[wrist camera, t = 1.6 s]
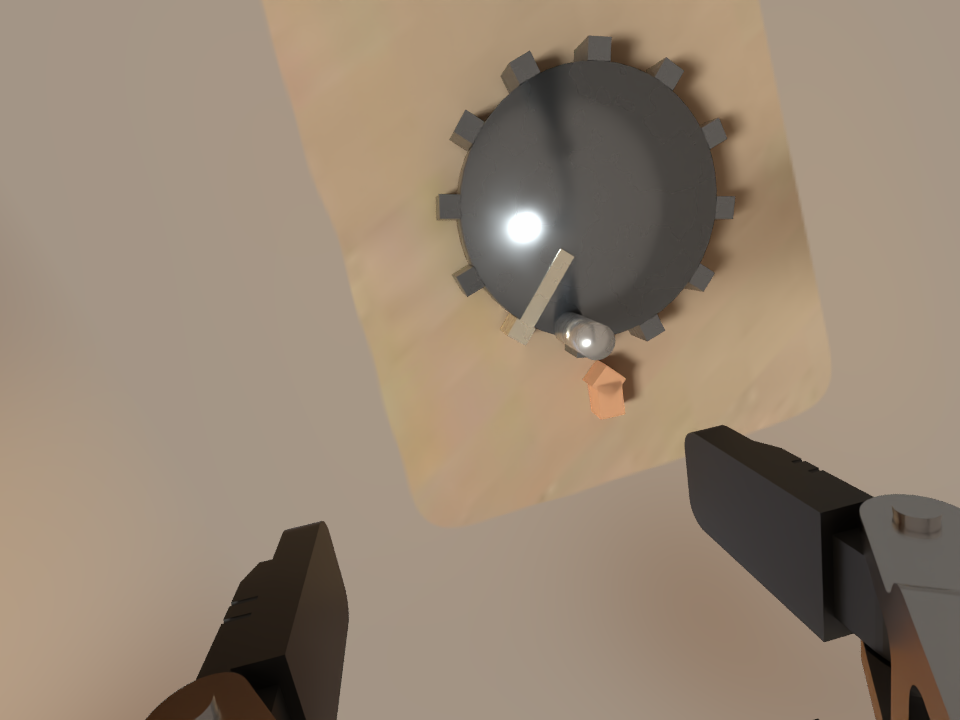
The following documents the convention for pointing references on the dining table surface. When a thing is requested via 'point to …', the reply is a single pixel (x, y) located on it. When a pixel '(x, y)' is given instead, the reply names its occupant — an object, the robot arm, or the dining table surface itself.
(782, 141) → the dining table surface
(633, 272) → the sprocket wheel
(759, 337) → the dining table surface
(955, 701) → the robot arm
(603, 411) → the pointer block
